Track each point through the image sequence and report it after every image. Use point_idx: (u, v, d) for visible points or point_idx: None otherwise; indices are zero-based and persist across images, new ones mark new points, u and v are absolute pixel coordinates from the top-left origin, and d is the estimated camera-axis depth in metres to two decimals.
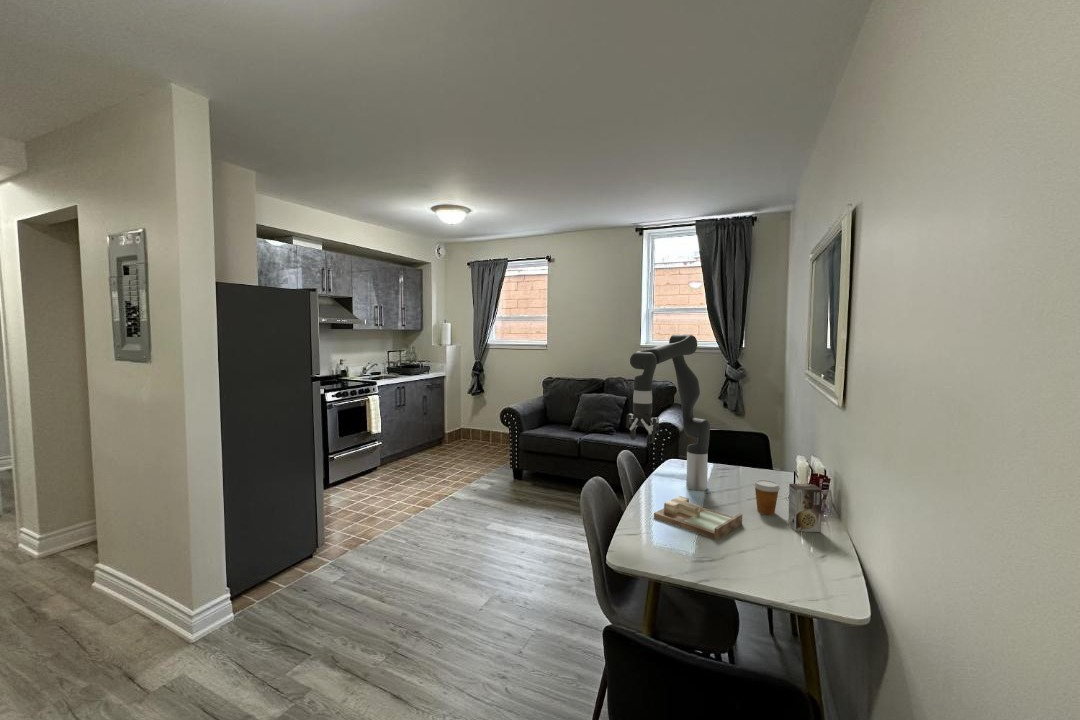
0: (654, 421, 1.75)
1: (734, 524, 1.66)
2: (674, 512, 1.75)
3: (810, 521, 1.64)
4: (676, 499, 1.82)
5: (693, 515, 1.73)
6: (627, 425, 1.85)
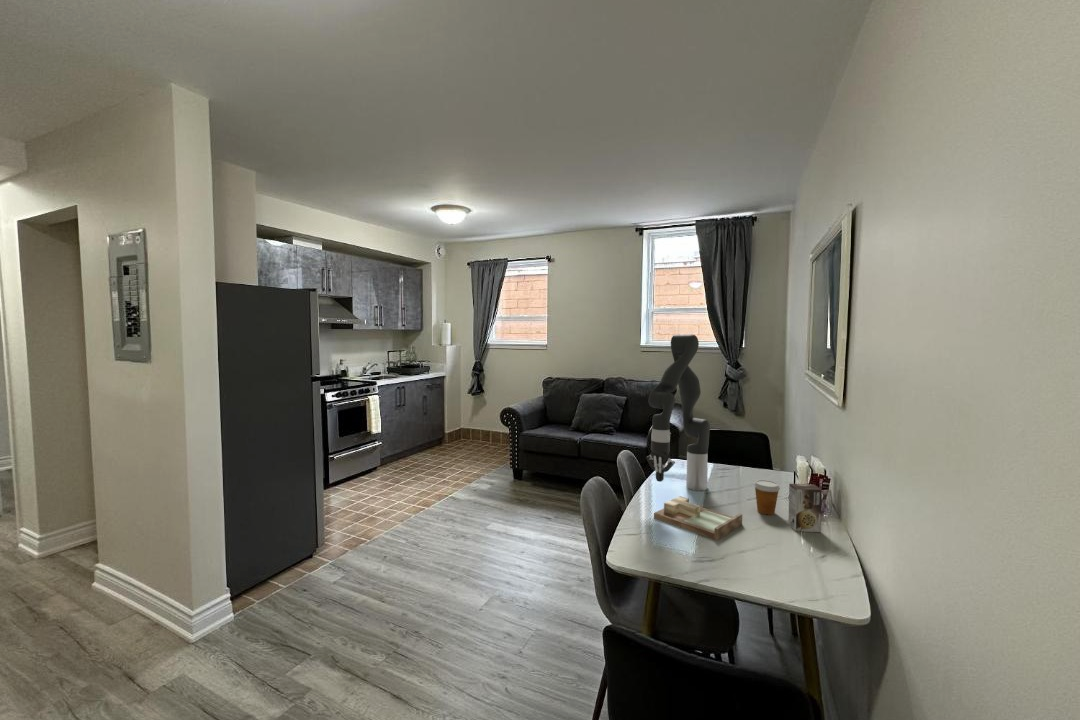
0: (669, 464, 1.81)
1: (734, 524, 1.66)
2: (674, 512, 1.75)
3: (810, 521, 1.64)
4: (676, 499, 1.82)
5: (693, 515, 1.73)
6: (652, 466, 1.87)
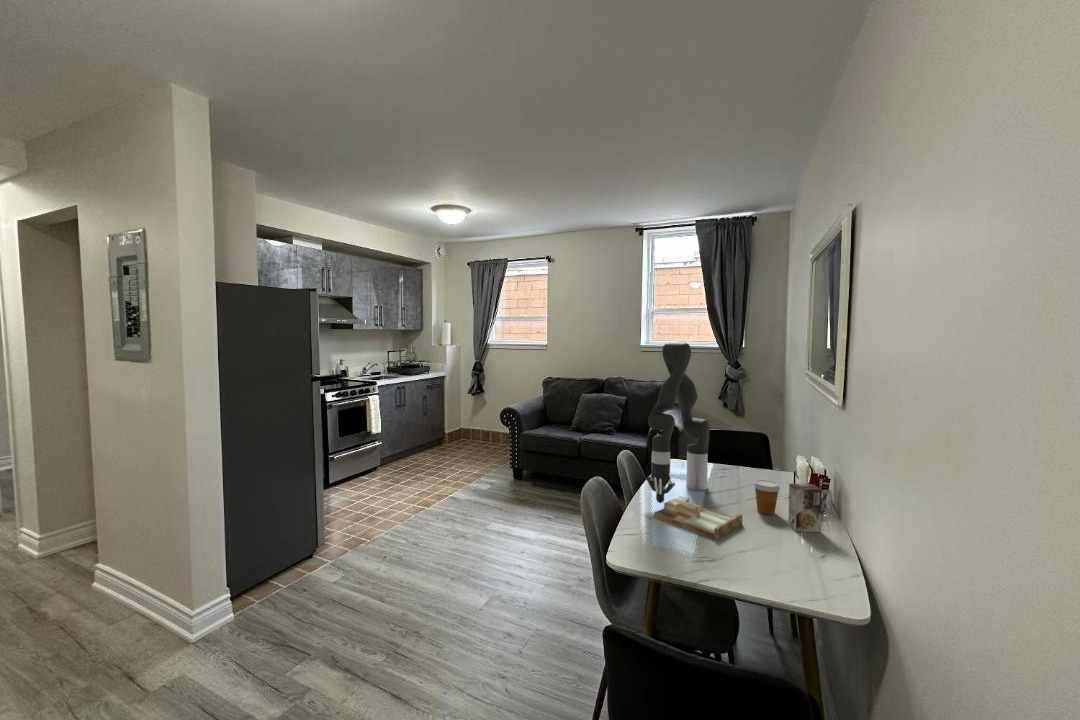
0: (670, 486, 1.81)
1: (734, 524, 1.66)
2: (674, 512, 1.75)
3: (810, 521, 1.64)
4: (676, 499, 1.82)
5: (693, 515, 1.73)
6: (652, 488, 1.87)
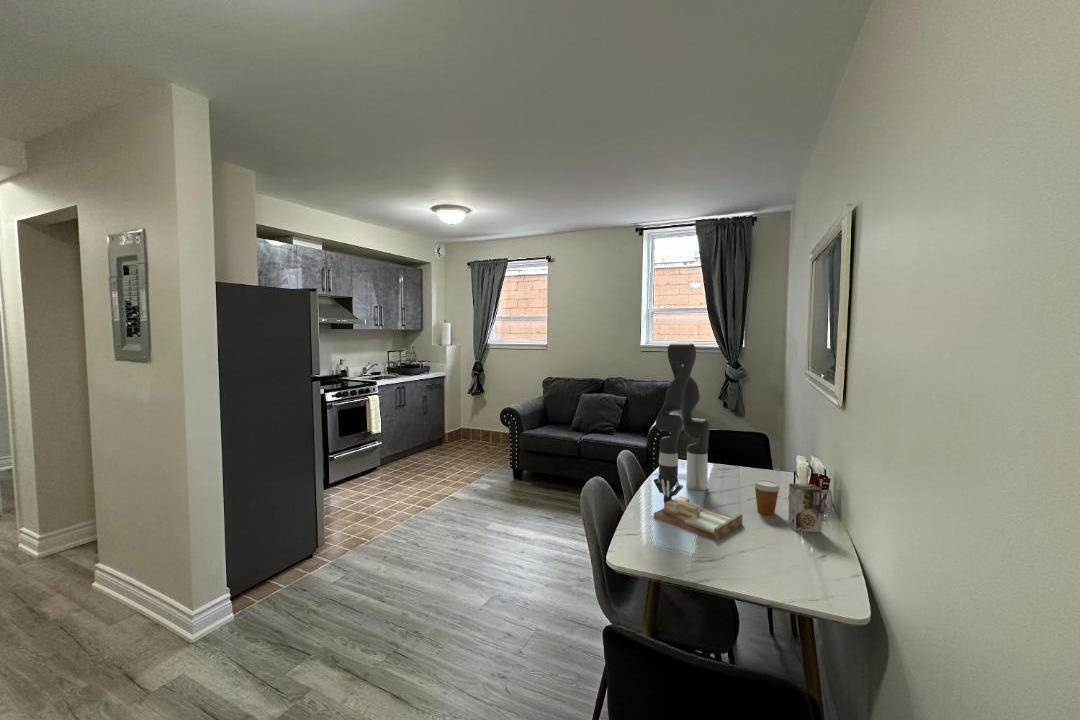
0: (677, 489, 1.78)
1: (734, 524, 1.66)
2: (674, 512, 1.75)
3: (810, 521, 1.64)
4: (676, 499, 1.82)
5: (693, 515, 1.72)
6: (659, 490, 1.84)
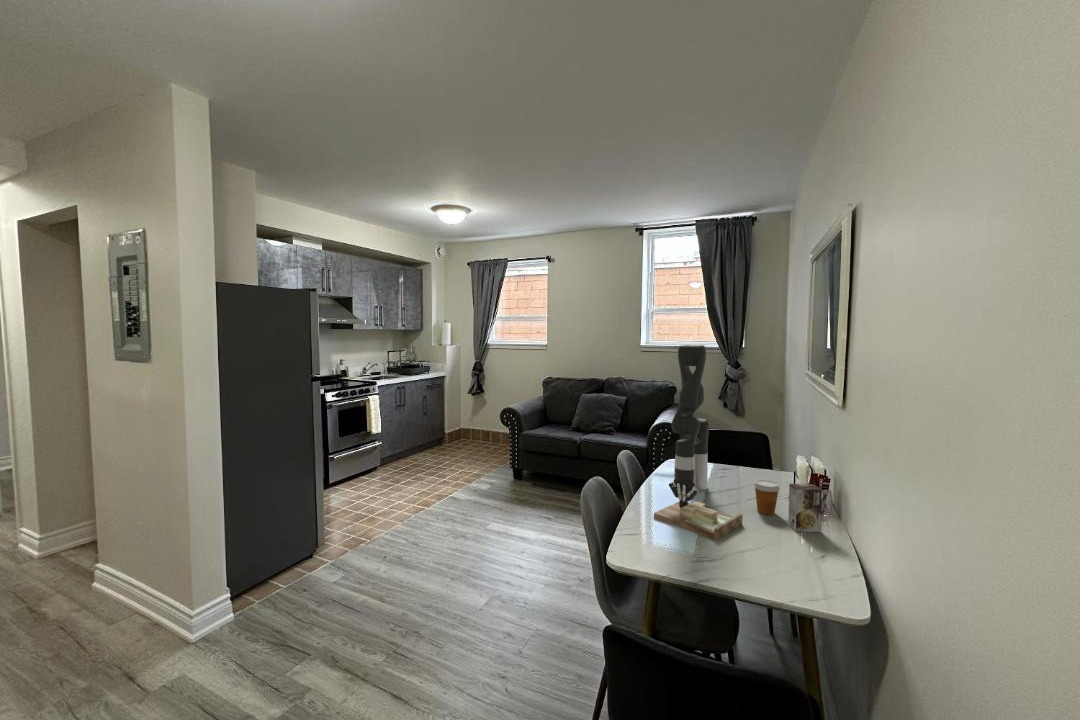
0: (694, 493, 1.73)
1: (734, 524, 1.66)
2: (691, 518, 1.70)
3: (810, 521, 1.64)
4: (692, 504, 1.76)
5: (710, 521, 1.67)
6: (675, 494, 1.79)
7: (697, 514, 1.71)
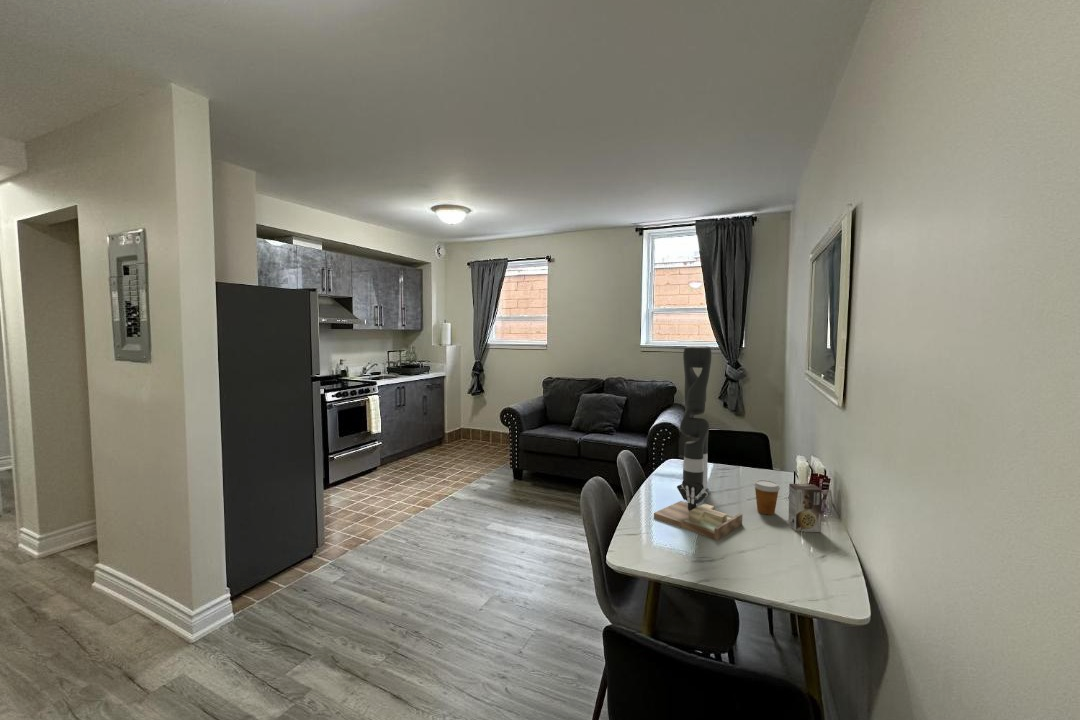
0: (703, 496, 1.70)
1: (734, 524, 1.66)
2: (700, 521, 1.67)
3: (810, 521, 1.64)
4: (701, 507, 1.73)
5: (720, 524, 1.64)
6: (683, 497, 1.76)
7: (706, 517, 1.68)
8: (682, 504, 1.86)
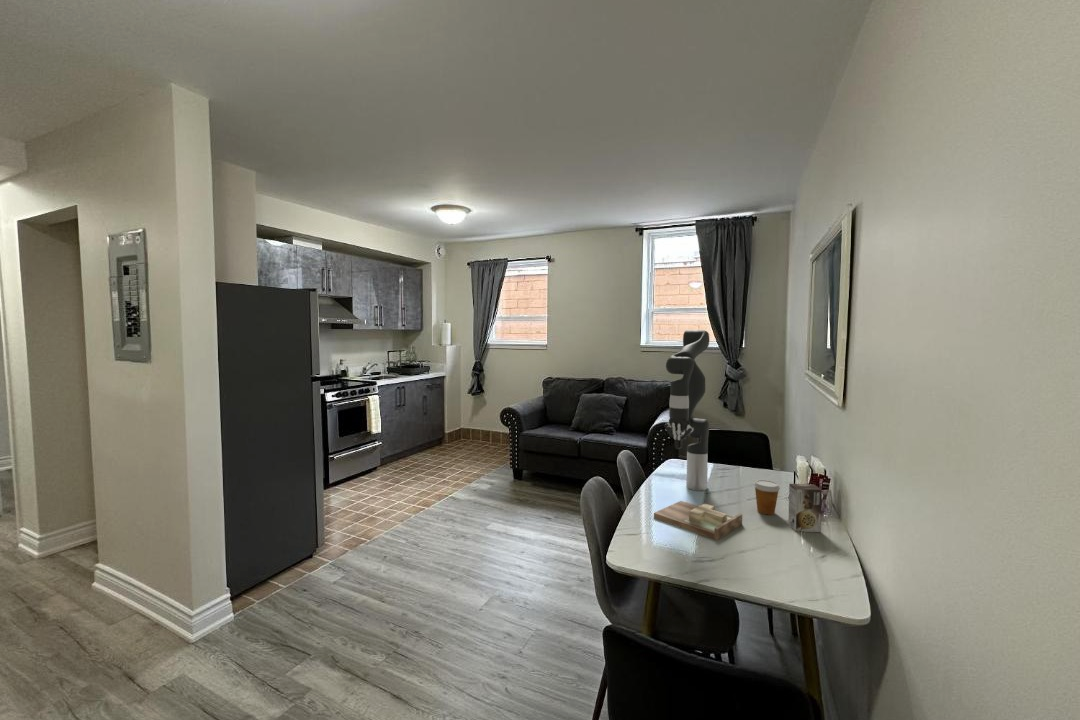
0: (689, 431, 1.76)
1: (734, 524, 1.66)
2: (700, 521, 1.67)
3: (810, 521, 1.64)
4: (701, 507, 1.73)
5: (720, 524, 1.64)
6: (670, 434, 1.82)
7: (706, 517, 1.68)
8: (682, 504, 1.86)
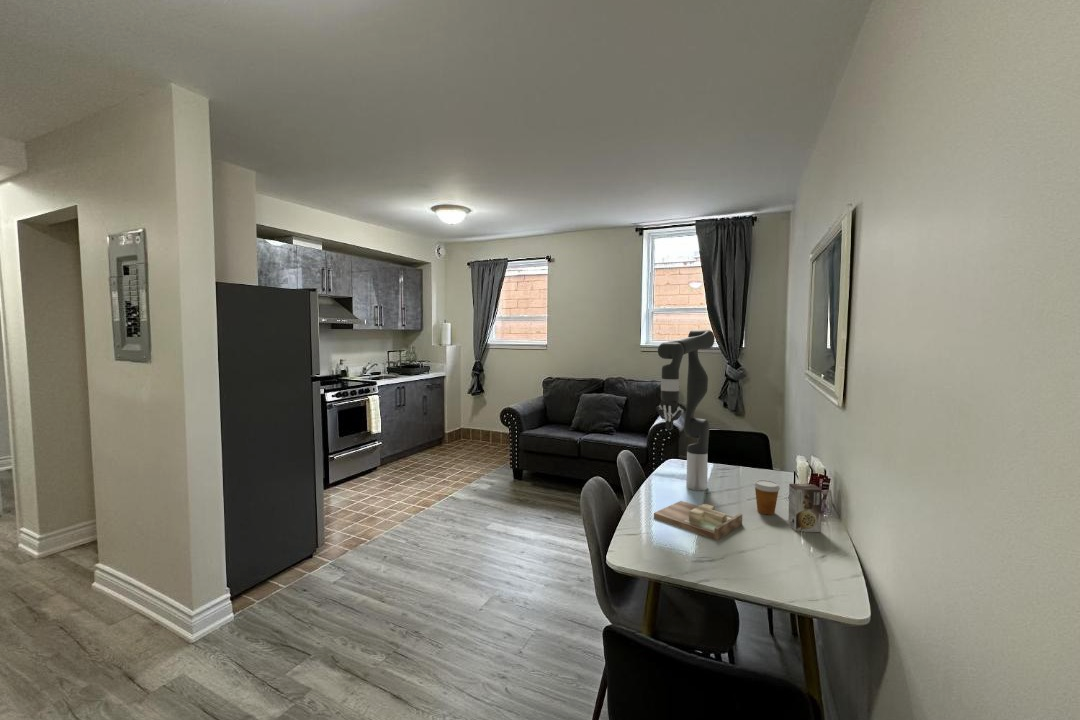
0: (679, 412, 1.86)
1: (734, 524, 1.66)
2: (700, 521, 1.67)
3: (810, 521, 1.64)
4: (701, 507, 1.73)
5: (720, 524, 1.64)
6: (661, 416, 1.92)
7: (706, 517, 1.68)
8: (682, 504, 1.86)
